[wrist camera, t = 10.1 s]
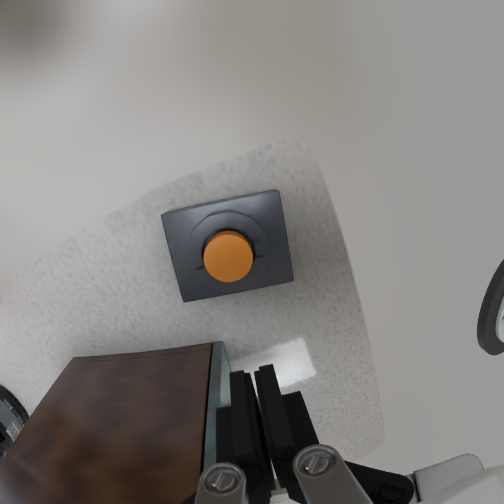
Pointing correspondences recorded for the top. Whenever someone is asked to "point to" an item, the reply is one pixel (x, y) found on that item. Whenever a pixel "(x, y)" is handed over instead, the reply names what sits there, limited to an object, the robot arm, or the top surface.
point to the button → (228, 256)
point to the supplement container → (9, 421)
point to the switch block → (229, 219)
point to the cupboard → (115, 432)
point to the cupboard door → (221, 398)
